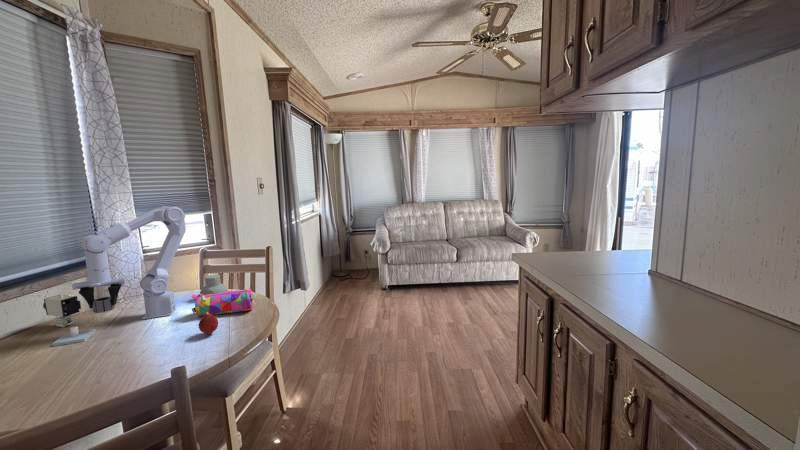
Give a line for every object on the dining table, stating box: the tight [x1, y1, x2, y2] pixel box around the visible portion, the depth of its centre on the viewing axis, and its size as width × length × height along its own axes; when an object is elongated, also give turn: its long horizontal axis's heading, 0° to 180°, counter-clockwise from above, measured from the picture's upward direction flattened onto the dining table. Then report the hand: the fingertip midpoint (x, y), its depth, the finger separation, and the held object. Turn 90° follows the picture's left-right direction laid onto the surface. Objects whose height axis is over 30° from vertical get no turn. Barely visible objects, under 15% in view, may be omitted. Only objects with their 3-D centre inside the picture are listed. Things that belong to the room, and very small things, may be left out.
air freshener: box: [199, 274, 228, 295], centre depth 148 cm, size 11×8×10 cm
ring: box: [91, 295, 115, 314], centre depth 116 cm, size 5×5×4 cm
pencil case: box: [191, 288, 255, 317], centre depth 130 cm, size 22×9×9 cm, turn 108°
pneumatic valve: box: [42, 293, 82, 328], centre depth 121 cm, size 6×12×12 cm, turn 77°
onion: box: [198, 312, 219, 335], centre depth 111 cm, size 6×6×8 cm
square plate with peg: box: [52, 325, 97, 347], centre depth 110 cm, size 8×8×4 cm
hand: (103, 305), depth 116 cm, fingers closed on ring, 5 cm apart
